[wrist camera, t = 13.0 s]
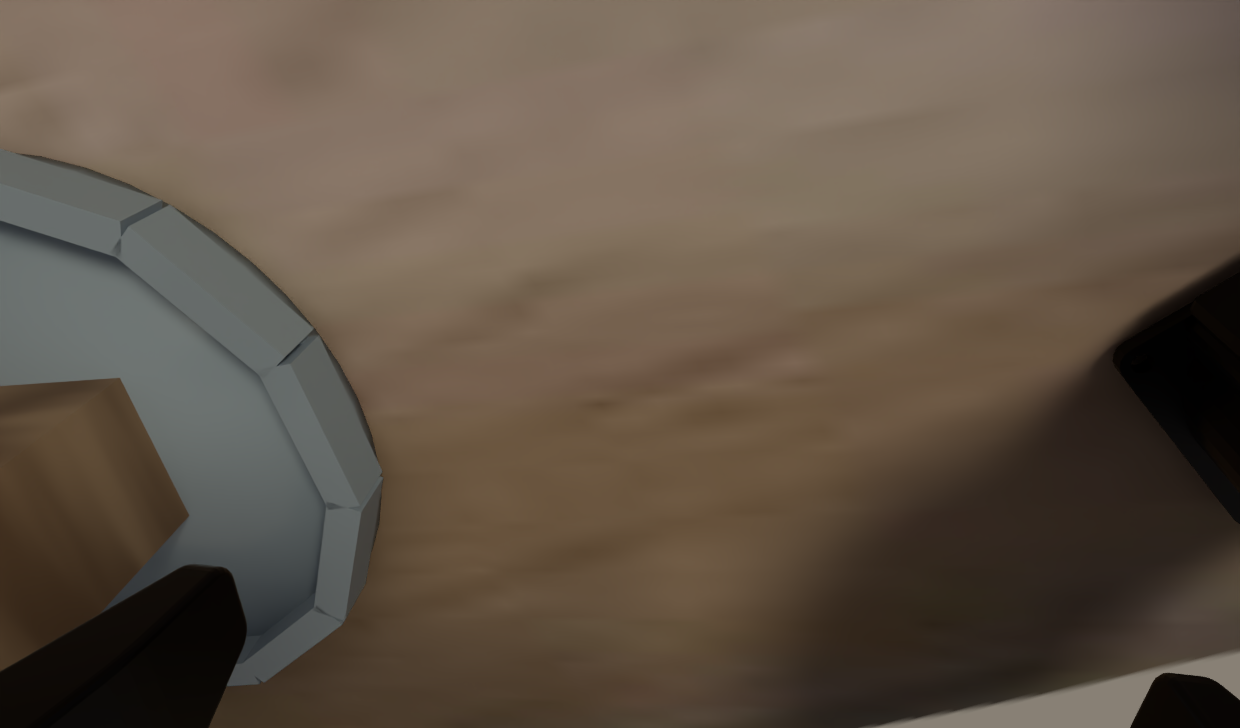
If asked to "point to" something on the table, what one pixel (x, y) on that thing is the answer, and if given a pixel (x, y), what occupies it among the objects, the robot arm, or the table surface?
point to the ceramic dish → (198, 393)
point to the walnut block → (74, 506)
